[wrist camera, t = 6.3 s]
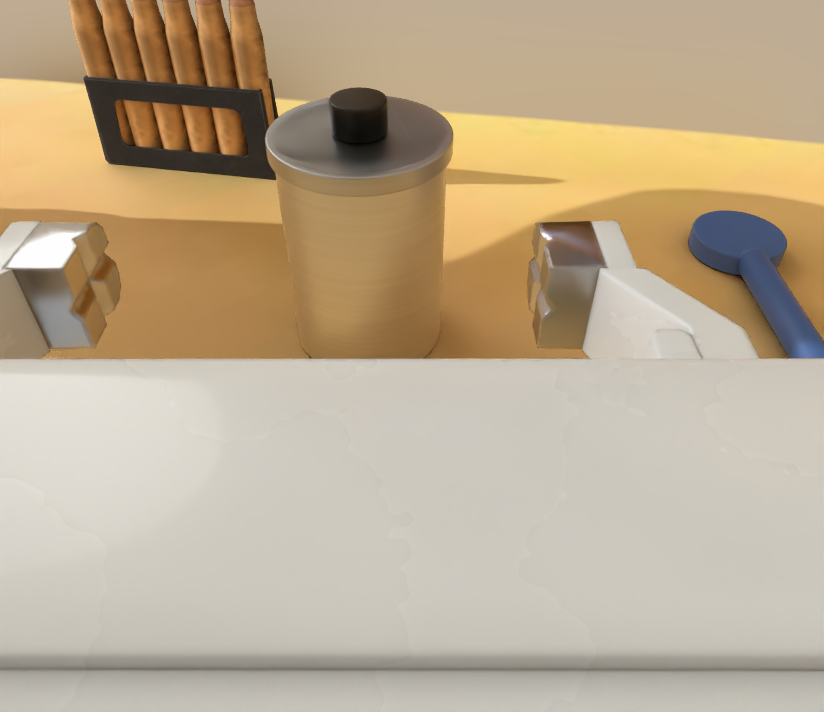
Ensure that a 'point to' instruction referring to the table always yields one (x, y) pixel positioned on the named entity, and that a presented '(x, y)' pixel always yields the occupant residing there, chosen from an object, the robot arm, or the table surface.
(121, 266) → the table surface
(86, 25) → the ammunition clip
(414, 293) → the pot
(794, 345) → the spoon
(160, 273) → the table surface
